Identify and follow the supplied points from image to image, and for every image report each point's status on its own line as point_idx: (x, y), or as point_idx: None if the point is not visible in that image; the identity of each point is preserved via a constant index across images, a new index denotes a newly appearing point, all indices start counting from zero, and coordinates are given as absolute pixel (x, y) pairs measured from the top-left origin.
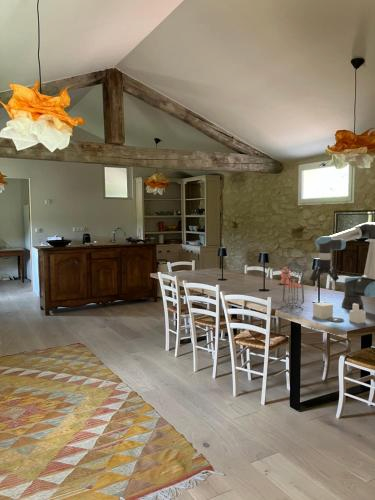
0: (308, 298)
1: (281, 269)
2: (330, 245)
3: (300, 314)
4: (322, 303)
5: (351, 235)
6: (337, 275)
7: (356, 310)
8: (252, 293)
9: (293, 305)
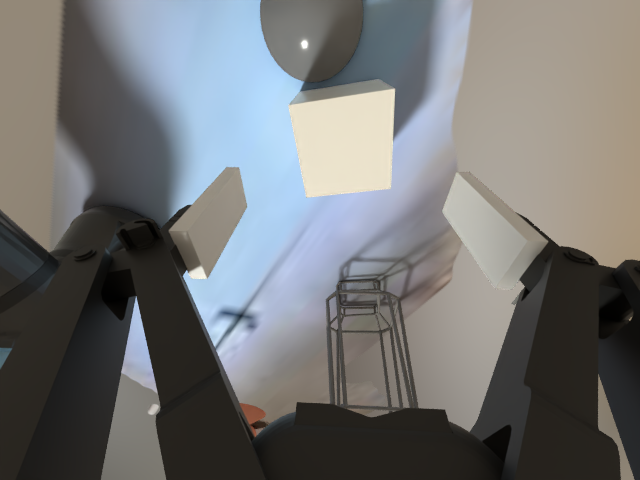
0: (245, 356)
1: None
2: None
3: (408, 204)
4: (334, 171)
5: None
6: (39, 306)
7: None
8: (363, 405)
9: (345, 308)
